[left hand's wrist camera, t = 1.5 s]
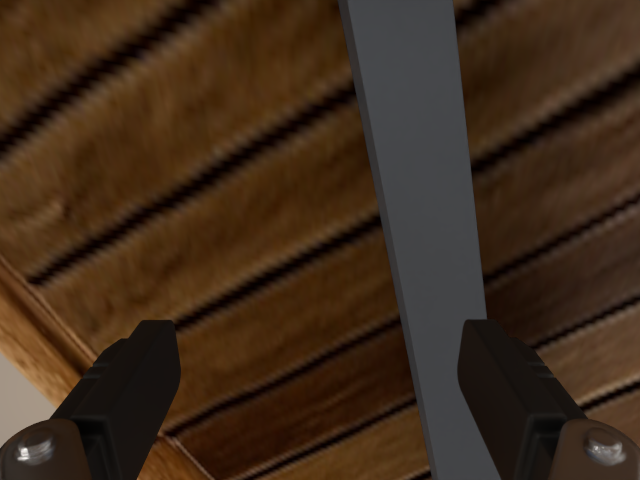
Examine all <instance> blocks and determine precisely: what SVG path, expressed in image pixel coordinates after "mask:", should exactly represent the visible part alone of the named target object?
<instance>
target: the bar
mask: <svg viewBox="0 0 640 480" xmlns="http://www.w3.org/2000/svg"><path fill="white" fill-rule="evenodd" d="M338 4H339V9H340V14H341V19H342V24H343V30H344V35H345V40H346V45H347V50H348V55H349V60H350V65H351V70H352V75H353V80H354V85H355V90H356V95H357V100H358V105H359V111H360V116H361V121H362V126H363V131H364V136H365V141H366V146H367V151H368V156H369V161H370V166H371V171H372V176H373V181H374V186H375V191H376V197H377V202H378V207H379V212H380V217H381V222H382V227H383V232H384V237H385V242H386V247H387V252H388V257H389V262H390V267H391V272H392V278H393V283H394V288H395V293H396V298H397V303H398V308H399V313H400V318H401V323H402V328H403V333H404V338H405V343H406V348H407V353H408V359H409V364H410V369H411V374H412V379H413V384H414V389H415V394H416V399H417V404H418V409H419V414H420V419H421V424H422V429H423V434H424V439H425V445H426V450H427V455H428V460H429V465H430V470H431V475H432V480H501V478H500V476H499V474H498V471H497V469H496V467H495V465H494V462H493V460H492V458H491V456H490V454H489V451H488V449H487V447H486V445H485V443H484V440H483V438H482V436H481V434H480V432H479V429H478V427H477V425H476V423H475V421H474V418H473V416H472V414H471V412H470V409H469V407H468V405H467V403H466V401H465V398H464V396H463V394H462V392H461V389H460V387H459V383H458V376H457V365H458V358H459V351H460V344H461V337H462V331H463V325H464V322H465V321H466V320H467V319H487V315H486V305H485V296H484V287H483V278H482V268H481V259H480V250H479V240H478V231H477V222H476V213H475V203H474V194H473V185H472V175H471V166H470V157H469V148H468V138H467V129H466V120H465V110H464V101H463V92H462V83H461V73H460V64H459V55H458V45H457V36H456V27H455V17H454V8H453V0H338Z"/></svg>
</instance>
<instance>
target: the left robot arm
mask: <svg viewBox="0 0 640 480" xmlns="http://www.w3.org/2000/svg"><path fill="white" fill-rule="evenodd" d="M180 376H181V367H180V359H179V353H178V346H177V339H176V333H175V326H174V323H173V322H172V321H171V320H142V321H141V322H140V323H139V325H138V326H137V327H136V329H135V330H134V331H133V333H132V334H131V335H130V337H129V338H128V339H120V340H118V341H117V342H115V343H114V344H112V345H111V346H110V347H108V348H107V349H105V350H104V351H103V352H102V353H101V355H100V356H99V357H98V358H97V360H96V361H95V362H94V363H93V367H90V368H89V370H88V371H87V372H86V373H85V375H84V378H83V379H81V380H80V381H79V382H78V383H77V385H76V386H75V387H74V388H73V390H72V391H71V392H70V393H69V395H68V396H67V397H66V399H65V400H64V401H63V402H62V404H61V405H60V406H59V407H58V409H57V410H56V411H55V412H54V414H53V415H52V416H51V417H50V419H49V420H45V421H41V422H38V423H35V424H33V425H31V426H28V427H26V428H25V429H23V430H21V431H20V432H18V433H16V434H15V435H14V436H12V437H11V438H10V439H9V440H8V441H7V442H6V443H4V445H3V446H2V447H1V448H0V480H137V477H138V475H139V473H140V471H141V469H142V467H143V464H144V462H145V460H146V458H147V456H148V453H149V451H150V449H151V447H152V445H153V443H154V440H155V438H156V436H157V434H158V432H159V429H160V427H161V425H162V423H163V421H164V419H165V416H166V414H167V412H168V410H169V408H170V405H171V403H172V401H173V399H174V397H175V395H176V392H177V390H178V387H179V383H180ZM457 376H458V383H459V387H460V389H461V392H462V394H463V396H464V398H465V401H466V403H467V405H468V407H469V409H470V412H471V414H472V416H473V418H474V421H475V423H476V425H477V427H478V429H479V432H480V434H481V436H482V438H483V440H484V443H485V445H486V447H487V449H488V451H489V454H490V456H491V458H492V460H493V462H494V465H495V467H496V469H497V471H498V474H499V476H500V478H501V480H640V448H639V447H638V446H637V444H636V443H634V442H633V441H632V440H631V439H630V438H629V437H628V436H626V435H625V434H624V433H622V432H621V431H619V430H617V429H615V428H614V427H612V426H609V425H607V424H605V423H602V422H599V421H595V420H591V419H588V418H587V417H586V415H585V414H584V413H583V412H582V410H581V409H580V408H579V406H578V405H577V404H576V403H575V401H574V400H573V399H572V398H571V396H570V395H569V394H568V393H567V391H566V390H565V389H564V387H563V386H562V385H561V384H560V382H559V381H558V380H557V379H556V378H554V376H553V374H552V372H551V371H550V370H549V369H548V367H547V366H545V365H544V362H543V361H542V360H541V358H540V357H539V356H538V355H537V353H536V352H535V351H534V350H533V349H532V348H531V347H529V346H528V345H526V344H525V343H523V342H522V341H520V340H519V339H518V338H509V337H508V335H507V334H506V333H505V331H504V330H503V328H502V327H501V326H500V324H499V323H498V322H497V321H496V320H494V319H467V320H466V321H465V322H464V325H463V331H462V337H461V344H460V351H459V358H458V365H457Z"/></svg>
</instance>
